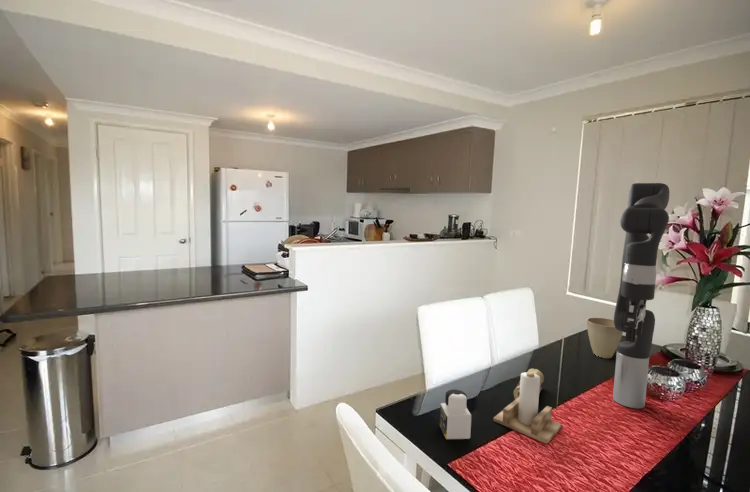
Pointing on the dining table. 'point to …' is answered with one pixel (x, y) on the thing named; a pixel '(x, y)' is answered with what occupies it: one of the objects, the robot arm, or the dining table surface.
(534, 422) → the stand
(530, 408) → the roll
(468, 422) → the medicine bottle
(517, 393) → the scroll
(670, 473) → the dining table surface
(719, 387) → the dining table surface
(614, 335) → the plant pot
